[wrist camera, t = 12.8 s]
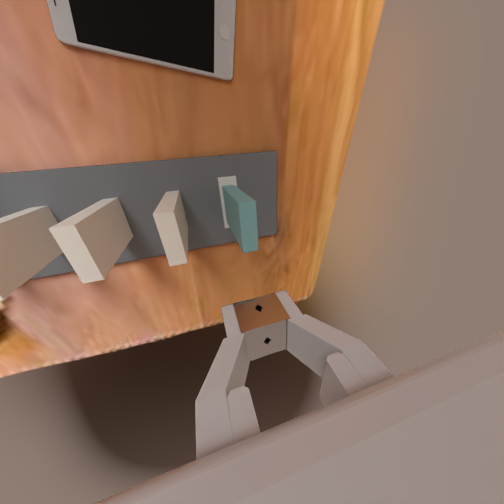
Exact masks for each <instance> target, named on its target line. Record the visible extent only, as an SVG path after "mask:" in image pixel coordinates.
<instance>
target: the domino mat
mask: <svg viewBox="0 0 504 504" xmlns="http://www.w3.org/2000/svg"><path fill="white" fill-rule="evenodd" d="M226 185H235V186H236V187H238V188H239V189H240V190H242V191H243V192H244V193H246V194H247V195H249V196H250V197H251V198H253V199H254V200H255V201H256V213H257V231H258V238H259V237H265V236H270V235H275V234H277V151H267V152H255V153H243V154H230V155H218V156H206V157H194V158H182V159H170V160H158V161H145V162H133V163H121V164H109V165H97V166H85V167H72V168H60V169H48V170H36V171H24V172H12V173H0V218H2V217H5V216H7V215H10V214H13V213H16V212H19V211H22V210H25V209H28V208H31V207H40V206H48V207H49V209H50V210H51V212H52V214H53V215H54V217H55V219H56V221H57V222H58V223H59V222H61V221H63V220H65V219H67V218H69V217H71V216H72V215H74V214H76V213H78V212H80V211H82V210H84V209H85V208H87V207H89V206H91V205H93V204H95V203H96V202H98V201H100V200H102V199H108V198H117V197H118V199H119V201H120V204H121V206H122V209H123V211H124V214H125V216H126V219H127V221H128V224H129V226H130V229H131V231H132V234H133V237H132V239H131V240H130V242H129V243H128V245H127V246H126V248H125V249H124V251H123V252H122V254H121V255H120V257H119V258H118V260H117V261H116V263H115V264H117V263H123V262H128V261H134V260H139V259H145V258H150V257H155V256H161V255H166V253H165V250H164V247H163V244H162V241H161V238H160V235H159V232H158V229H157V226H156V223H155V220H154V217H153V213H154V211H155V209H156V208H157V206H158V204H159V203H160V201H161V199H162V198H163V196H164V194H165V193H166V192H168V191H177V190H179V191H180V195H181V199H182V203H183V207H184V211H185V215H186V220H187V224H188V250H194V249H199V248H205V247H210V246H215V245H221V244H226V243H232V242H237V240H236V238H235V236H234V235H233V233H232V231H231V229H230V227H229V225H228V223H227V220H226V212H225V205H224V198H223V191H222V186H226ZM74 271H75V270H74V269H73V267H72V266H71V264H70V262H69V261H68V259H67V258H66V256H65V254H64V253H62V254H60V255H59V256H58V257H57V258H55V259H54V260H53V261H52V262H50V263H49V264H48V265H47V266H45V267H44V268H43V269H41V270H40V271H39V272H38V273H36V274H35V275H34V276H33V277H31V278H30V279H35V278H41V277H46V276H52V275H57V274H63V273H68V272H74ZM30 279H29V280H30Z"/></svg>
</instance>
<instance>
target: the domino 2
mask: <svg viewBox="0 0 504 504" xmlns="http://www.w3.org/2000/svg"><path fill="white" fill-rule="evenodd" d="M48 229H49V230H50V232H51V234H52V235H53V237H54V238H55V240H56V242H57V243H58V245H59V246H60V248H61V250H62V251H63V253H64V254H65V256H66V258H67V259H68V261H69V262H70V264H71V266H72V267H73V269H74V270H75V272H76V274H77V275H78V277H79V278H80V280H81V282H82V283H83V284H84V283H89V282H94V281H99V280H104V279H105V278H106V276H107V275H108V273H109V272H110V270H111V269H112V267H113V266H114V264H115V263H116V261H117V260H118V258H119V257H120V255H121V254H122V252H123V251H124V249H125V248H126V246H127V245H128V243H129V242H130V240H131V239H132V237H133V234H132V231H131V229H130V226H129V224H128V221H127V219H126V216H125V214H124V211H123V209H122V206H121V204H120V201H119V199H118V197H117V198H108V199H102V200H100V201H98V202H96V203H95V204H93V205H91V206H89V207H87V208H85V209H84V210H82V211H80V212H78V213H76V214H74V215H72V216H71V217H69V218H67V219H65V220H63V221H61V222H59V223H58V224H56V225H54V226H52V227H50V228H48Z"/></svg>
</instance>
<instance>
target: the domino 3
mask: <svg viewBox="0 0 504 504" xmlns="http://www.w3.org/2000/svg"><path fill="white" fill-rule="evenodd" d="M153 217H154V220H155V223H156V226H157V229H158V232H159V235H160V238H161V241H162V244H163V247H164V250H165V253H166V256H167V259H168V262H169V266H175V265H181V264H186V263H188V224H187V220H186V215H185V211H184V207H183V203H182V199H181V195H180V191H179V190H177V191H168V192H166V193H165V194H164V196H163V198H162V199H161V201H160V203H159V204H158V206H157V208H156V209H155V211H154V213H153Z"/></svg>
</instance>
